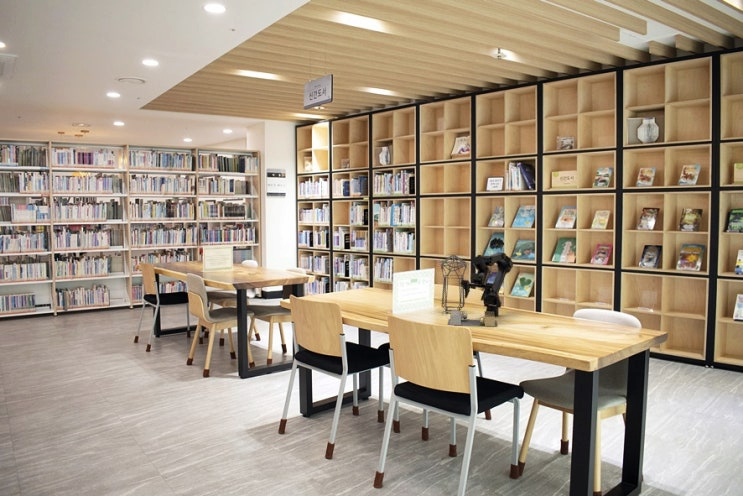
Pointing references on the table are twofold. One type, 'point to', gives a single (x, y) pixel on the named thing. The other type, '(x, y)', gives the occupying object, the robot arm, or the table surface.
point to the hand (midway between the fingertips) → (473, 299)
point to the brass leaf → (488, 318)
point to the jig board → (472, 323)
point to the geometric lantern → (453, 278)
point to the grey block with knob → (457, 317)
